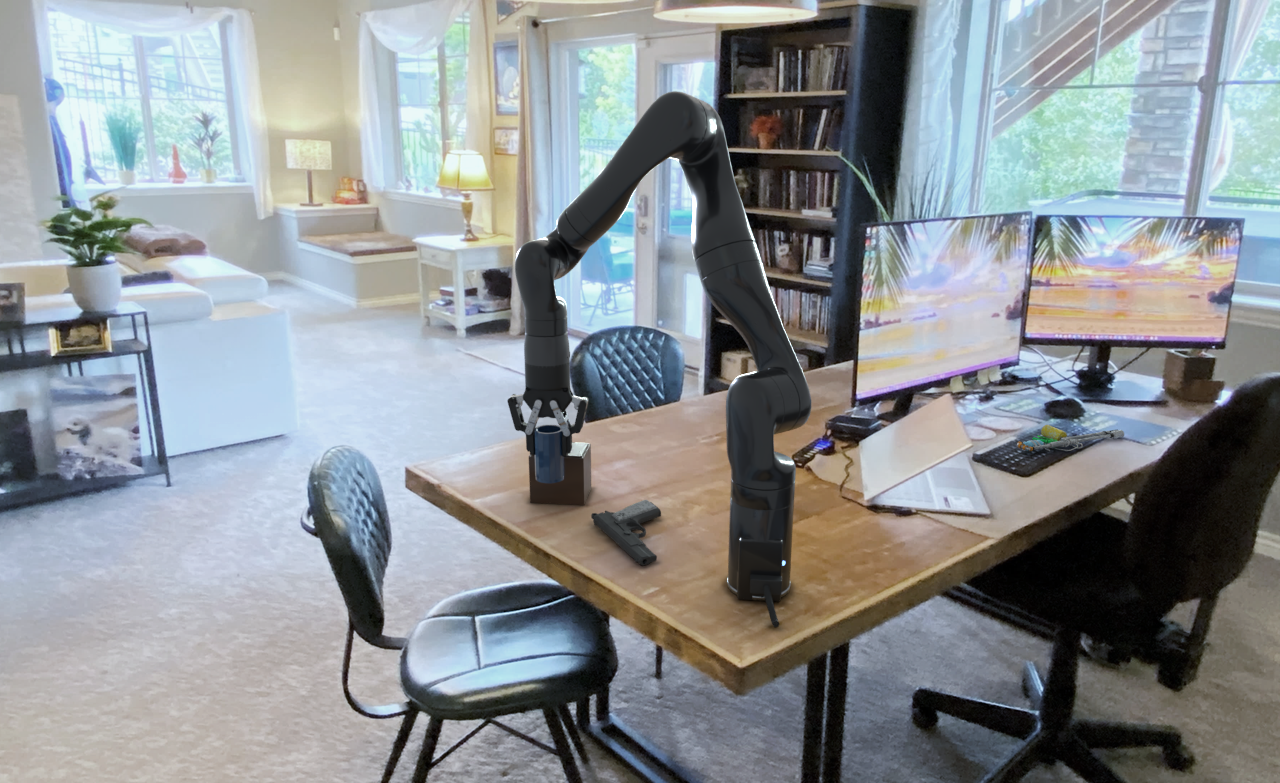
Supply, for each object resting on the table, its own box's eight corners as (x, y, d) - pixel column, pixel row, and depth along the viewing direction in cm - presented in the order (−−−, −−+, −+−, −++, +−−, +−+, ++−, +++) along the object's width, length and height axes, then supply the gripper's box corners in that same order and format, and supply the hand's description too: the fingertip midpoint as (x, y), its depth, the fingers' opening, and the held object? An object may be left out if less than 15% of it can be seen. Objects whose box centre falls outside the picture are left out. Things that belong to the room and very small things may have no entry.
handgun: (647, 509, 165) (586, 521, 160) (647, 497, 164) (586, 509, 159) (702, 554, 150) (637, 570, 144) (703, 541, 149) (637, 556, 143)
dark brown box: (584, 505, 167) (583, 457, 165) (530, 502, 168) (528, 454, 166) (591, 488, 175) (590, 442, 172) (539, 486, 176) (538, 440, 173)
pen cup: (561, 484, 158) (560, 434, 155) (532, 482, 159) (531, 433, 156) (567, 473, 163) (565, 424, 160) (539, 472, 163) (537, 423, 161)
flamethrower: (998, 443, 198) (1035, 460, 190) (1000, 431, 198) (1037, 448, 189) (1093, 427, 211) (1132, 442, 202) (1095, 416, 210) (1134, 431, 201)
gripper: (499, 363, 152) (503, 460, 157) (585, 365, 150) (587, 463, 155) (510, 352, 159) (514, 445, 164) (593, 354, 157) (594, 448, 162)
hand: (549, 453), depth 159 cm, fingers closed on pen cup, 5 cm apart
